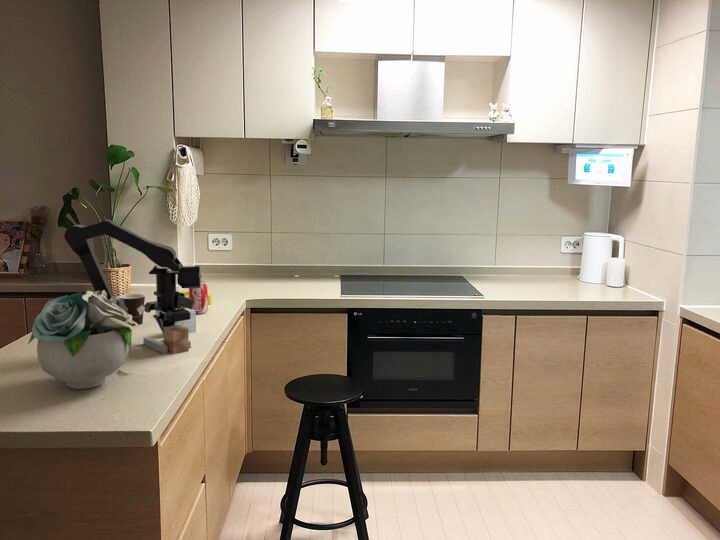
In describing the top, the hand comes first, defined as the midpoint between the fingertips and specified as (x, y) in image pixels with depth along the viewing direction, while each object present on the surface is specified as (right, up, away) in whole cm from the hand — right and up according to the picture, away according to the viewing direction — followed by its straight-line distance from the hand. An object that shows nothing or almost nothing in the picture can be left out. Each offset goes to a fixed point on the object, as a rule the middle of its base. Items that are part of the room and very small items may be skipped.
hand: (167, 338), depth 187 cm
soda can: (-4, +4, +50) cm, 50 cm away
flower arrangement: (-11, -8, -31) cm, 34 cm away
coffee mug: (-23, +1, +30) cm, 38 cm away
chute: (0, -3, +1) cm, 4 cm away
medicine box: (0, -1, +16) cm, 16 cm away
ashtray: (-11, +7, +67) cm, 69 cm away
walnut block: (+4, -3, -4) cm, 6 cm away
